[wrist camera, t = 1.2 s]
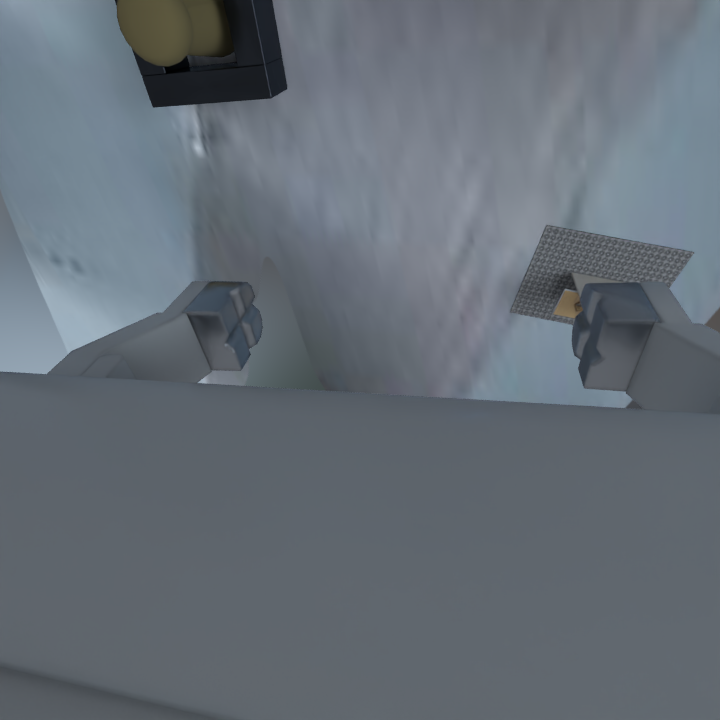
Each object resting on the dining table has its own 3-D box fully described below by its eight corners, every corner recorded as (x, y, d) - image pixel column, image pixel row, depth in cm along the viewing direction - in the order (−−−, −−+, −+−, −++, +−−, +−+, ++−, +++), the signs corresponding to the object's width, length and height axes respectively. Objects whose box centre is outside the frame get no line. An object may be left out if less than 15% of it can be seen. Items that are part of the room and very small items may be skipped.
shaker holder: (123, -67, 36) (88, -72, 33) (256, -90, 34) (233, -98, 30) (176, 98, 44) (152, 107, 40) (287, 89, 41) (271, 98, 38)
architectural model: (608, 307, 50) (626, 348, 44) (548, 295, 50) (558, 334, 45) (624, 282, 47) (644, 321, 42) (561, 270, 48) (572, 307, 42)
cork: (193, 61, 41) (126, 80, 33) (168, -23, 37) (84, -24, 29) (251, 53, 40) (195, 71, 32) (231, -35, 36) (162, -40, 28)
